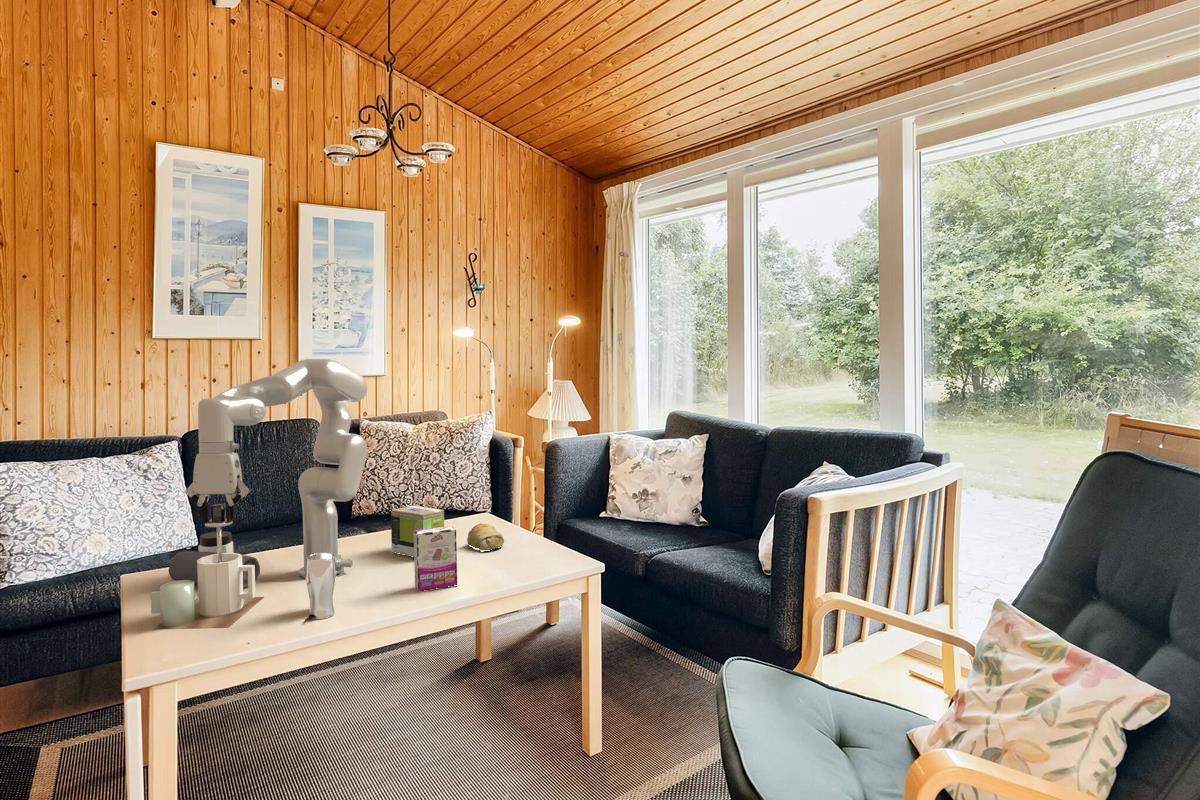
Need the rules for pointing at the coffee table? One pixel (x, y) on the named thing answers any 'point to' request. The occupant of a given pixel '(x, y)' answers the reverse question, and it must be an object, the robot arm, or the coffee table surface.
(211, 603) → the press carafe
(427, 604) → the coffee table surface
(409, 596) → the coffee table surface
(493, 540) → the pastry
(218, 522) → the plunger
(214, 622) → the serving board
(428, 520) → the tea box
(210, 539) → the jar
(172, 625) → the sage mug
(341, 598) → the coffee table surface
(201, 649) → the coffee table surface
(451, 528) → the candy bar box
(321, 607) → the beer glass
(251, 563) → the bluetooth speaker
